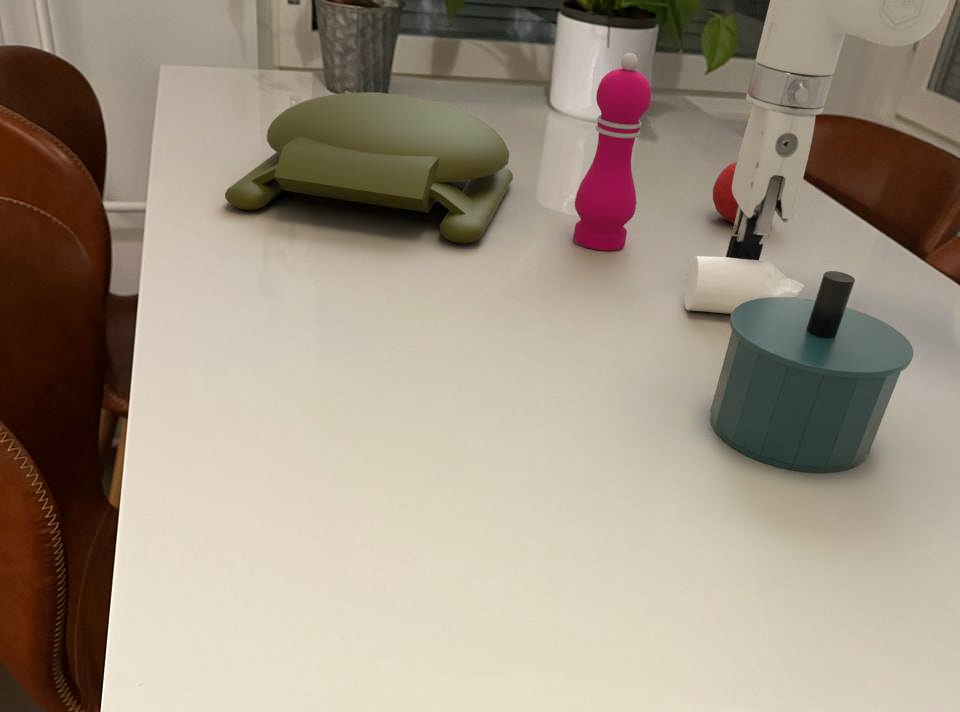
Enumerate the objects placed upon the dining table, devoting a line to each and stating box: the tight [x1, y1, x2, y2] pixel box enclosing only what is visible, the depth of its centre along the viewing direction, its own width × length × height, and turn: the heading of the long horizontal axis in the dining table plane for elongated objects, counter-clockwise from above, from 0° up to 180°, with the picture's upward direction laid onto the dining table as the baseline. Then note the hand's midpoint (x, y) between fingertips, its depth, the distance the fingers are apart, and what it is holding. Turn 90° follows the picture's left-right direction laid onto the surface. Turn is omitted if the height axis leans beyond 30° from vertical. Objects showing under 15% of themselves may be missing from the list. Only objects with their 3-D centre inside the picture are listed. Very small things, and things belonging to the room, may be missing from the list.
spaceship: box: [224, 91, 514, 245], centre depth 124 cm, size 35×31×10 cm
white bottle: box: [683, 255, 805, 315], centre depth 103 cm, size 6×12×6 cm, turn 88°
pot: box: [709, 330, 902, 474], centre depth 82 cm, size 14×14×8 cm
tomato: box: [712, 161, 738, 224], centre depth 128 cm, size 9×9×8 cm
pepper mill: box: [573, 52, 652, 252], centre depth 112 cm, size 7×7×20 cm
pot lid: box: [729, 270, 914, 378], centre depth 78 cm, size 15×15×6 cm
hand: (737, 276), depth 107 cm, fingers closed
